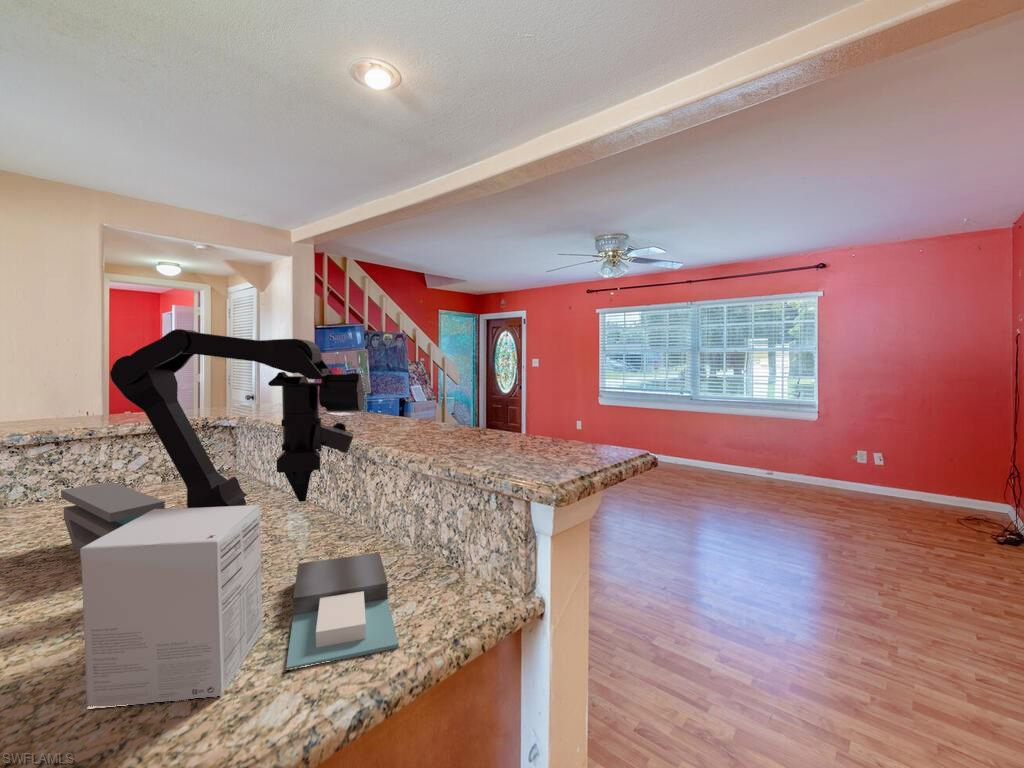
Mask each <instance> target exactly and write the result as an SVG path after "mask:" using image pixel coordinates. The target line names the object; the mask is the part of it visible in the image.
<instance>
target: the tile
mask: <svg viewBox="0 0 1024 768" xmlns="http://www.w3.org/2000/svg"><path fill="white" fill-rule="evenodd" d="M361 639H366V620H365V603H364V591H362V592H355V593H348V594H342V595H335V596H328V597H321V598H320V603H319V610H318V618H317V626H316V648H317V647H322V646H328V645H333V644H339V643H344V642H350V641H356V640H361Z"/></svg>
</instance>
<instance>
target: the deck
mask: <svg viewBox="0 0 1024 768" xmlns="http://www.w3.org/2000/svg"><path fill="white" fill-rule="evenodd" d="M384 567H385V566H384V564H383V560H382V556H381V552H379V551H378V552H372V553H365V554H358V555H350V556H343V557H337V558H330V559H329V558H328V559H322V560H313V561H307V562H300V563H298V564H297V570H296V576H295V583H294V590H293V596H292V604H293V605H292V608H293V609H292V612H293V613H292V614H293V615H299V614H304V613H310V612H316V611H318V610H319V603H320V598H321V597H328V596H335V595H342V594H348V593H355V592H362V591H364V603H367V602H373V601H379V600H384V599H388V600H389V597H388V595H389V594H388V593H389V592H388V591H389V588H388V585H389V583H388V579H387V575H386V572H385V568H384Z"/></svg>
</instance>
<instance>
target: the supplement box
mask: <svg viewBox="0 0 1024 768" xmlns="http://www.w3.org/2000/svg"><path fill="white" fill-rule="evenodd" d="M261 543H262V542H261V509H260V504H252V505H249V504H248V505H247V504H246V506H225V507H203V508H187V507H183V508H165V509H153V510H152V511H150V512H148V513H146V514H144V515H142V516H140V517H138V518H136V519H135V520H133V521H131V522H129V523H127V524H125V525H123V526H121V527H120V528H118V529H116V530H114V531H112V532H110V533H108V534H106V535H105V536H103V537H101V538H99V539H97V540H95V541H93V542H91V543H90V544H88V545H86V546H84V547H82V548H81V549H80V554H81V556H80V565H81V566H80V567H81V582H82V609H83V611H82V612H83V630H84V633H83V634H84V635H83V636H84V659H85V660H84V661H85V663H84V664H85V683H86V684H85V685H86V707H87V706H90V707H91V706H92V707H93V706H115V705H116V706H117V705H127V704H128V705H129V704H131V705H132V704H144V705H148V704H147V703H154V702H162V701H163V702H164V701H166V702H164V703H171V702H170V701H175V702H182V701H181V700H184V701H189V700H188V699H194V698H204V699H206V698H205V697H214V698H218V697H217V696H220V697H221V696H222V695H223V694H224V692H225V691H224V690H226V689H227V687H228V686H229V684H230V683H231V681H232V680H233V678H234V676H235V675H236V673H237V672H238V670H239V669H238V668H240V667H241V666H240V665H242V664H243V663H244V661H245V659H246V658H247V656H248V654H249V653H250V651H251V650H252V648H253V647H254V646H255V644H256V642H257V640H258V639H259V637H260V635H261V634H262V632H263V602H262V601H263V600H262V599H263V596H262V593H263V592H262V551H261V550H262V549H261ZM231 679H232V680H231ZM229 682H230V683H229ZM227 685H228V686H227ZM222 693H223V694H222ZM186 699H187V700H186ZM179 700H180V701H179ZM194 700H195V699H194ZM167 701H169V702H167ZM145 703H146V704H145ZM154 704H155V703H154Z"/></svg>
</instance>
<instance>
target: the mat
mask: <svg viewBox="0 0 1024 768" xmlns="http://www.w3.org/2000/svg"><path fill="white" fill-rule="evenodd" d="M389 602H390V601H389V598H388V599H384V600H379V601H373V602H367V603H365V620H366V639H361V640H356V641H350V642H344V643H339V644H333V645H328V646H322V647H317V648H316V626H317V618H318V611H316V612H310V613H304V614H299V615H293V616H292V624H291V632H290V637H289V646H288V651H287V652H288V653H287V658H286V665H285V668H286V669H290V668H295V667H301V666H305V665H311V664H316V663H322V662H326V661H333V660H338V661H342V660H341V659H343V660H346V659H345V658H348V659H351V657H352V658H357V657H360V656H361V657H362V656H366V655H369V654H375V653H379V652H380V653H381V652H384V651H389V650H390V651H391V650H393V649H394V650H395V649H398V648H400V646H399V645H400V644H399V639H398V635H397V632H396V628H395V623H394V618H393V615H392V611H391V607H390V603H389ZM333 662H334V661H333ZM286 669H285V670H286Z"/></svg>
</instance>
